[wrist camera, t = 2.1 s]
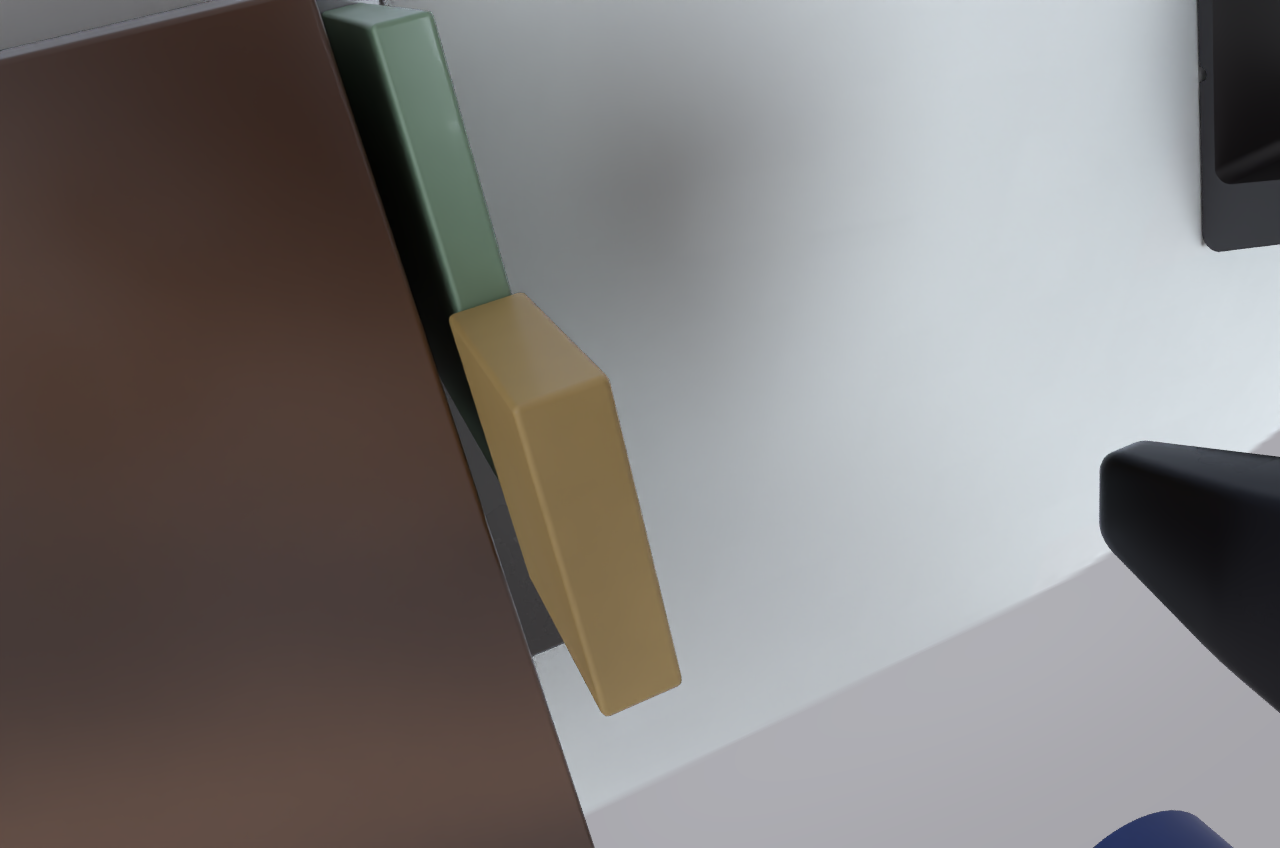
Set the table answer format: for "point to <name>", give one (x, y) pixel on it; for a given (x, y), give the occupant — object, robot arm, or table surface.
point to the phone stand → (1240, 122)
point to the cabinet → (241, 474)
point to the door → (509, 363)
